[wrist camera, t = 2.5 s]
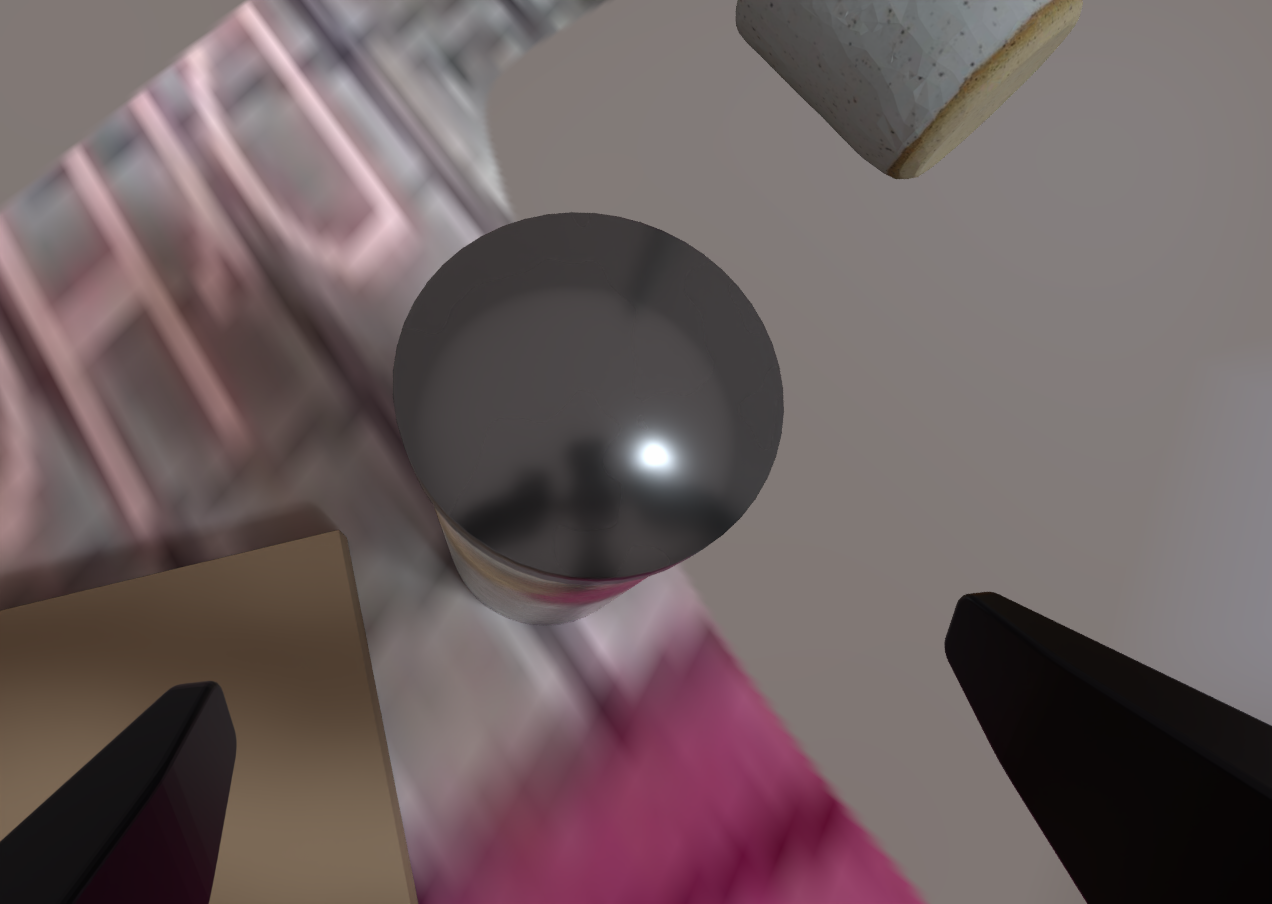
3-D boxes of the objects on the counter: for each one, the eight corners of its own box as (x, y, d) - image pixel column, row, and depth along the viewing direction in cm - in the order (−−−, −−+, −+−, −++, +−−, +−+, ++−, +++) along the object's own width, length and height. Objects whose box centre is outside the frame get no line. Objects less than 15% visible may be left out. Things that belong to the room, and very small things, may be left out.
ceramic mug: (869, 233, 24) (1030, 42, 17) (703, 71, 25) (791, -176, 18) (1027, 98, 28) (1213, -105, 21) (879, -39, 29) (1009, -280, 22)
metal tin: (670, 596, 19) (837, 518, 10) (470, 655, 18) (443, 630, 8) (614, 413, 20) (715, 190, 11) (424, 455, 19) (356, 241, 10)
